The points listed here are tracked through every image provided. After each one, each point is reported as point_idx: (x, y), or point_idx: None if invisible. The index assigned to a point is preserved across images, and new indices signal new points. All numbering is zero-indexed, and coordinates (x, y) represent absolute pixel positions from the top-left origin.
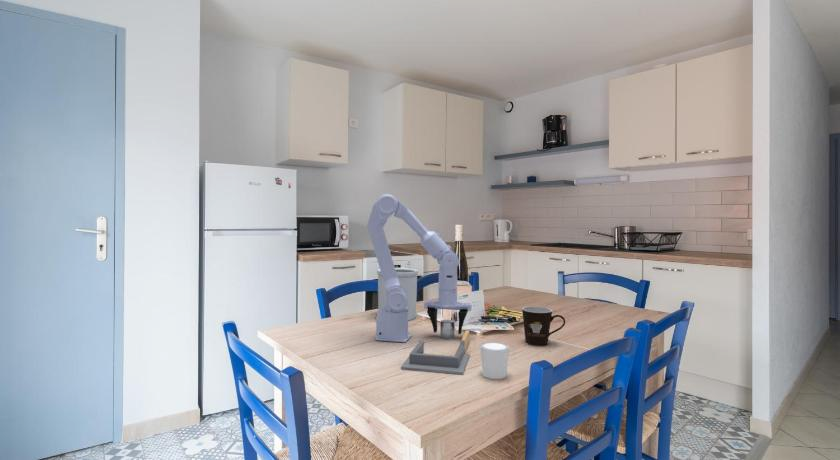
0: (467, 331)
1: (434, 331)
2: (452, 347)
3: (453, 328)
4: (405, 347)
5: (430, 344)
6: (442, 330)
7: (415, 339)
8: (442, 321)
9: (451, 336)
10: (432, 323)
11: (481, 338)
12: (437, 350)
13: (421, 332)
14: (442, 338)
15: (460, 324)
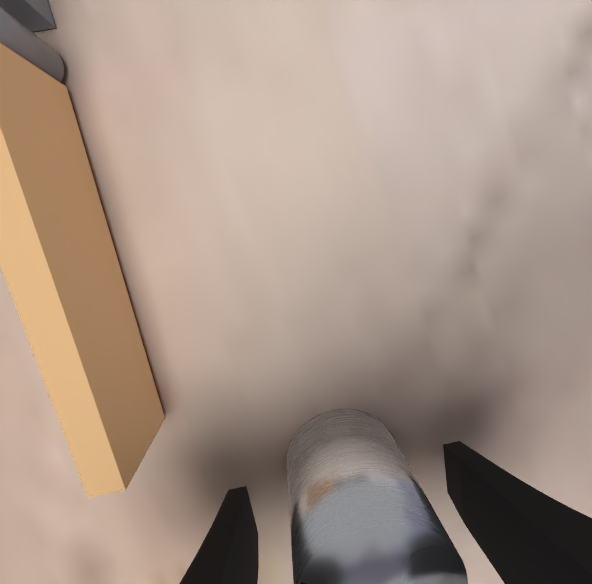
0: (86, 453)
1: (460, 446)
2: (209, 230)
3: (293, 519)
4: (585, 58)
5: (408, 231)
6: (390, 459)
7: (559, 305)
8: (439, 568)
9: (299, 445)
10: (534, 491)
11: (90, 539)
12: (298, 91)
13: (558, 481)
14: (367, 414)
15: (202, 572)
